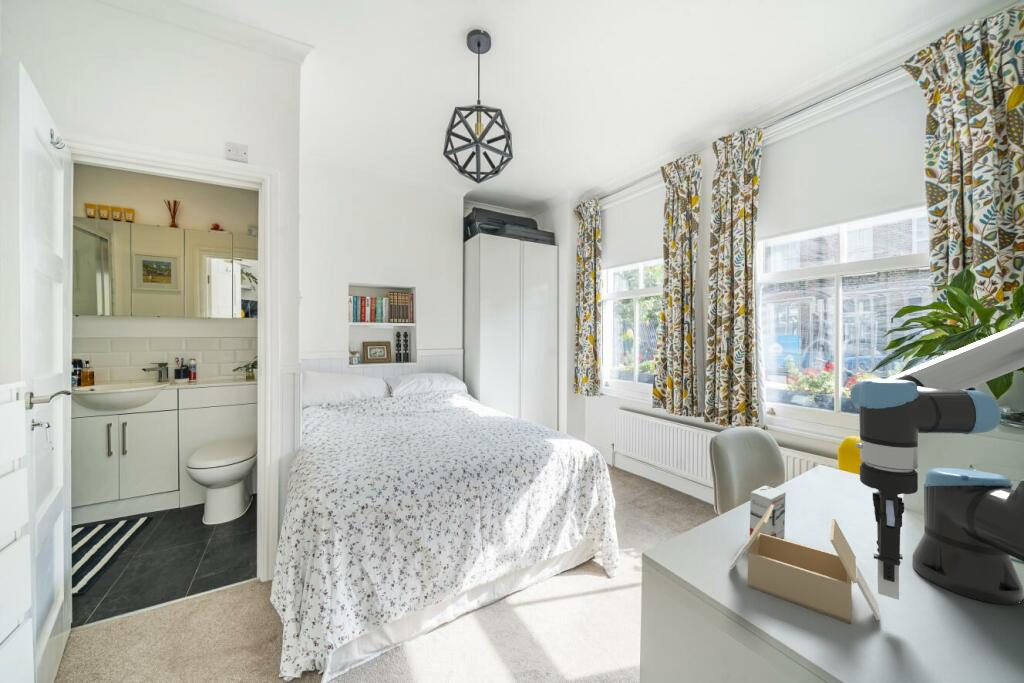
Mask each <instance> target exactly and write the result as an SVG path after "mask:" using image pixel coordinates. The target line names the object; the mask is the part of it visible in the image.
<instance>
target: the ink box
mask: <svg viewBox="0 0 1024 683" xmlns="http://www.w3.org/2000/svg"><path fill="white" fill-rule="evenodd" d="M786 496H787V495H786V491H783V490H779V489H777V488H774V487H771V486H769V485H763V486H761V487H759V488H756V489H755V490H752V491H751V492H750V505H749V506H750V509H749V511H750V512H749V536H750V535H751V534H752V532H753V530H754V528H755V527H756V525H757V524H758V523H759V521H760V520H761V518H762V517H763V515H764V514H765V513H766V511H767V510H768V508H769V507H770V506H771V504H773V505H774V507H773V509H772V512H771V514H770V516H769V519H768V521H767V523H766V525H765V526H764V527H763V529H762V530H761V532H760V533H763V534H766V535H770V536H773V537H777V538H780V539H783V538H784V537H785V533H786V532H785V529H786V528H785V526H786Z"/></svg>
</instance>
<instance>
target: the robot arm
mask: <svg viewBox="0 0 1024 683" xmlns="http://www.w3.org/2000/svg"><path fill="white" fill-rule="evenodd" d="M1021 368H1022V369H1023V368H1024V316H1022V317H1020V318H1017V319H1016V320H1015V319H1014V321H1013V322H1012V323H1011V324H1010V326H1009V328H1006V329H1004V330H1002V331H1000V332H997V333H994V334H992V335H990V336H987V337H985V338H982V339H979V340H977V341H975V342H972V343H970V344H967V345H966V346H963V347H960V348H958V349H956V350H953V351H950V352H947V353H945V354H943V355H939V356H938V357H936V358H934V359H931V360H928V361H926V362H924V363H921V364H919V365H916V366H914V367H912V368H909V369H906V370H904V371H902V372H899V373H896V374H894V375H891V376H888V377H886V378H868V379H862V380H860V381H858V382H857V383H855V384H854V385H853V387H852V388H851V390H850V400H851V403H852V404H853V406H854V407H855V408H856V409H858V410H859V414H858V416H859V417H858V418H859V441H860V443H859V442H857V443H855V448H856V449H860V451H859V459H860V460H861V461H862V462H860V463H859V481H860V483H862V484H863V486H867V487H868V488H871V489H875V490H877V491H876V492H872V502H873V503H872V504H873V507H874V508H873V509H874V511H873V512H874V518H875V522H876V525H877V526H876V528H877V530H876V531H877V533H876V534H877V540H876V544H877V545H876V546H878V547H877V549H876V551H877V553H878V554H877V553H873V559H875V560H877V593H878V595H882V596H885V597H888V598H892V599H894V600H900V566H901V562H902V561H901V560H903V559H904V558H903V554H901V551H900V550H901V528H902V527H903V514H904V513H905V503H904V501H903V497H901V496H898V495H903V494H904V495H913V494H916V493H917V492H918V491H919V490H918V489H919V488H918V487H919V484H918V483H919V482H918V481H919V478H918V477H919V475H918V474H919V473H918V472H917V471H916V469H918V468H919V444H918V443H919V434H963V435H970V434H983V433H988V432H991V431H993V430H994V429H996V428H997V427H998V426H999V424H1000V423H1001V420H1002V413H1001V407H1000V406H999V404H998V402H997V401H996V400H995V398H993V397H992V396H990V395H989V394H987V393H985V392H983V391H979V390H969V389H971V388H974V387H976V386H978V385H981V384H984V383H986V382H989V381H991V380H993V379H996V378H999V377H1001V376H1003V375H1007V374H1010V373H1013V372H1014V371H1017V370H1019V369H1021ZM924 482H925V483H923V494H924V495H923V498H924V499H923V500H924V501H923V502H924V503H923V504H924V505H923V506H924V508H923V509H924V519H923V520H924V521H923V522H924V524H923V525H924V528H923V529H924V530H923V532H924V533H923V534H922V537H921V538H920V540H919V542H918V544H917V546H916V548H915V549H914V550H913V553H912V555H911V556H912V561H911V563H912V564H911V565H912V568H913V569H914V571H915V572H916V573H918V574H919V575H920V576H921V577H923V578H924V579H926V580H928V581H929V582H932V583H933V584H935V585H936V586H939V587H941V588H943V589H946V590H949V591H951V592H952V593H956V594H958V595H962V596H964V597H968V598H971V599H974V600H978V601H983V602H987V603H991V604H997V605H1005V604H1014V605H1018V604H1017V603H1019V602H1021V601H1022V600H1023V601H1024V587H1023V586H1024V585H1023V584H1022V581H1021V579H1020V577H1019V574H1018V572H1017V570H1016V568H1015V565H1014V563H1013V561H1012V559H1011V557H1012V558H1015V559H1016V560H1018V561H1020V562H1023V563H1024V478H1022V479H1021V480H1020V482H1019V484H1018V485H1017V487H1016V489H1015V490H1014V489H1013V484H1012V481H1011V479H1010V478H1009V477H1007V476H1005V475H1002V474H997V473H993V472H987V471H980V470H973V469H965V468H954V467H952V468H951V467H937V468H931V469H929V470H928V471H927V472H926V474H925V480H924ZM1023 601H1022V602H1023ZM1022 602H1021V603H1022ZM1019 604H1020V603H1019Z"/></svg>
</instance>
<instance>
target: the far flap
mask: <svg viewBox="0 0 1024 683" xmlns="http://www.w3.org/2000/svg"><path fill="white" fill-rule="evenodd" d="M773 507H774V505H773V504H771V506H770V507H769V508H768V510H767V511H766V513H765V514H764V515H763V517H762V518H761V520H760V521H759V523H758V524H757V525H756V527H755V528H754V530H753V532H752V534H751V535H750V534H749V537H748V538H747V540H746V541H745V542H744V544H743V545H742V547H740V549H739V551H738V552H737V554H736V555H735V557H734V559H733V561H732V563H731V564H730V566H729V568H730V569H731V570H733V569H734V567H735V566H736V565H737V563H738V562H739V560H740V559H741V558H742V556H743V555H744V553H745V552H746V551H749V549H750V548H751V546H752V543H753V541H754V540H755V539H756V537H757V536H758V534H759V533H760V532H761V530H762V529H763V527H764V526H765V525H766V523H767V521H768V519H769V516H770V514H771V512H772V509H773Z"/></svg>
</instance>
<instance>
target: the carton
mask: <svg viewBox="0 0 1024 683" xmlns="http://www.w3.org/2000/svg"><path fill="white" fill-rule="evenodd" d="M747 555H748V556H747V569H748V570H747V587H748V588H750V589H754V590H756V591H759V592H762V593H765V594H767V595H771V596H773V597H775V598H778V599H782V600H784V601H786V602H789V603H791V604H792V603H793V604H795V605H798V606H800V607H803V608H806V609H809V610H811V611H813V612H817V613H819V614H822V615H824V616H828V617H830V618H834V619H836V620H839V621H841V622H844V623H846V624H850V625H852V593H853V592H852V584H853V582H852V580H851V578H850V576H849V575H848V573H847V571H846V569H845V567H844V565H843V563H842V562H841V560H840V558H839V556H838V554H837V553H833V552H831V551H830V552H829V551H826V550H822V549H819V548H817V547H815V548H814V547H812V546H808V545H805V544H801V543H799V542H794V541H790V540H787V539H783V538H781V539H780V538H777V537H773V536H770V535H766V534H763V533H759V534H758V536H757V537H756V539H755V540H754V541H753V543H752V544H751V546H750V547H749V549H748V553H747Z"/></svg>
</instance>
